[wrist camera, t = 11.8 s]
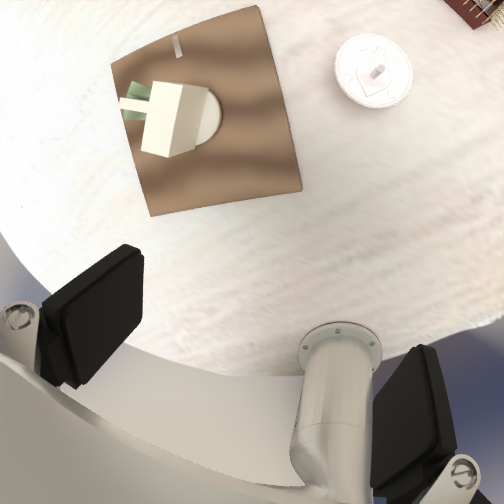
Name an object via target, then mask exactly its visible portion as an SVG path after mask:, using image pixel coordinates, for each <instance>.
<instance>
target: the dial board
mask: <svg viewBox="0 0 504 504" xmlns="http://www.w3.org/2000/svg"><path fill="white" fill-rule="evenodd" d="M111 69H112V74H113V78H114V83H115V88H116V92H117V97H118V101H120V98H121V97H125V98H132V99H139V100H145V101H149V100H150V95H151V90H152V85H153V81H161V82H173V83H183V84H189V85H195V86H201V87H205V88H209V89H208V90H210V91H211V92H212V93H213V94H214V95H215V96H216V98H217V99H218V101H219V103H220V106H221V112H222V117H221V123H220V126H219V128H218V130H217V132H216V133H215V135H214V136H213V137H212V138H211V139H209V140H208V141H206V142H205V143H202V144H199V145H196V146H195V149H193V150H190V151H187V152H184V153H181V154H178V155H175V156H172V157H169V158H167V157H163V156H160V155H156V154H152V153H148V152H145V151H141V146H142V139H143V133H144V127H145V121H146V115H147V113H143V112H137V111H132V110H126V109H121V114H122V118H123V122H124V126H125V130H126V134H127V137H128V141H129V145H130V149H131V152H132V156H133V160H134V163H135V167H136V170H137V174H138V177H139V181H140V184H141V187H142V191H143V194H144V197H145V200H146V204H147V207H148V210H149V213H150V216H151V217H154V216H159V215H164V214H169V213H174V212H179V211H185V210H190V209H195V208H201V207H207V206H212V205H218V204H224V203H230V202H236V201H242V200H248V199H254V198H261V197H267V196H274V195H281V194H288V193H295V192H301V191H302V185H301V179H300V174H299V169H298V164H297V159H296V155H295V150H294V145H293V140H292V136H291V131H290V127H289V122H288V118H287V113H286V109H285V105H284V100H283V96H282V92H281V88H280V84H279V80H278V76H277V72H276V68H275V64H274V60H273V56H272V53H271V49H270V45H269V41H268V38H267V34H266V31H265V27H264V24H263V20H262V17H261V13H260V10H259V7H258V6H257V5H254V6H250V7H247V8H243V9H240V10H236V11H233V12H230V13H227V14H224V15H220V16H217V17H214V18H212V19H209V20H206V21H203V22H200V23H198V24H195V25H192V26H190V27H187V28H185V29H182V30H180V31H177V32H175V33H173V34H170V35H168V36H166V37H163V38H161V39H159V40H157V41H155V42H152V43H150V44H148V45H146V46H144V47H142V48H140V49H138V50H136V51H134V52H132V53H130V54H128V55H126V56H124V57H123V58H121V59H119V60H117V61H115V62H113V63H112V64H111Z"/></svg>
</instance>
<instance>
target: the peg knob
mask: <svg viewBox="0 0 504 504" xmlns="http://www.w3.org/2000/svg"><path fill="white" fill-rule="evenodd" d="M208 89H209V88H205V87H201V86H195V85H189V84H183V83H173V82H161V81H153V85H152V90H151V95H150V100H149V101H145V100H139V99H132V98H125V97H121V98H120V101H119V107H118V108H120V109H126V110H132V111H137V112H143V113H147V115H146V121H145V127H144V133H143V139H142V146H141V151H145V152H148V153H152V154H156V155H160V156H163V157H167V158H169V157H172V156H175V155H178V154H181V153H184V152H187V151H190V150H193V149H195V146H196V145H199V144H202V143H205V142H206V141H208V140H209V139H211V138H212V137H213V136H214V135H215V133H216V132H217V130H218V128H219V126H220V123H221V117H222V112H221V106H220V103H219V101H218V99H217V98H216V96H215V95H214V94H213V93H212V92H211V91H210V90H208Z"/></svg>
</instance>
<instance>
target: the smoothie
mask: <svg viewBox="0 0 504 504" xmlns="http://www.w3.org/2000/svg"><path fill="white" fill-rule="evenodd" d="M334 72H335V77H336V80H337V82H338V85H339V87H340V88H341V89H342V91H343V92H344V93H345V95H347V96H348V97H349V98H350V99H351V100H352V101H354V102H356V103H358V104H360V105H361V106H364V107H368V108H372V109H384V108H388V107H392V106H394V105H396V104H398V103H400V102H401V101H402V100H403V99H404V98H405V97H406V96H407V95H408V93H409V92H410V90H411V87H412V84H413V77H414V75H413V67H412V64H411V61H410V59H409V57H408V55H407V54H406V52H405V51H404V50H403V49H402V48H401V47H400V46H399V45H398V44H397V43H396V42H394V41H393V40H391V39H389V38H387V37H385V36H382V35H379V34H373V33H364V34H359V35H356V36H353V37H351V38H349V39H348V40H347V41H345V42H344V43H343V44H342V46H341V47H340V48H339V50H338V52H337V54H336V56H335V61H334Z"/></svg>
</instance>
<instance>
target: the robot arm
mask: <svg viewBox="0 0 504 504" xmlns="http://www.w3.org/2000/svg"><path fill="white" fill-rule="evenodd" d="M143 274H144V256H143V255H142V254H141V251H140V249H138V248H135V247H133V246H130V245H128V244H123V245H121V246H120V247H118V248H117V249H115V250H114V251H113V252H111V253H110V254H108V255H107V256H105V257H104V258H102V259H101V260H100V261H98V262H97V263H95V264H94V265H92V266H91V267H90V268H88V269H87V270H85V271H84V272H83V273H81V274H80V275H78V276H77V277H76V278H74V279H73V280H72V281H70V282H69V283H67V284H66V285H65V286H63V287H62V288H61V289H59V290H58V291H57V292H55V293H54V294H53V295H51V296H50V297H49V298H47V299H46V300H45V301H44V302H42V307H41V308H40V309H39V310H38V308H37V307H36V306H35V305H34V304H33V303H30V302H27V301H17V302H13V303H10V304H9V305H7V306H5V307H4V308H3V309H2V310H1V312H0V504H373V497H386V498H387V500H386V504H491V502H490V501H488V500H487V498H486V497H485V496H484V495H483V494H482V493H481V492H480V491H479V490H478V489H477V488H478V486H479V483H480V476H481V474H480V470H479V467H478V465H477V463H476V462H475V461H474V460H473V459H472V458H471V457H469V456H467V455H464V454H460V455H456V456H455V452H454V451H455V450H456V449H457V443H456V437H455V431H454V426H453V420H452V415H451V410H450V405H449V401H448V396H447V392H446V388H445V383H444V379H443V375H442V371H441V368H440V364H439V361H438V357H437V353H436V350H435V348H432V347H429V346H426V345H422V344H419V345H417V346H416V347H412V348H411V349H410V351H409V352H408V354H407V355H406V357H405V358H404V359H403V361H402V362H401V364H400V365H399V366H398V368H397V369H396V371H395V372H394V373H393V375H392V376H391V377H390V379H389V380H388V381H387V382H386V384H385V385H384V386H383V388H382V389H381V390H380V391H379V393H378V394H377V395H376V397H375V399H374V401H373V378H372V377H373V376H372V374H373V373H374V372H375V371H376V370H377V368H378V367H379V365H380V363H381V359H382V349H381V344H380V342H379V340H378V338H377V337H376V336H375V335H374V334H373V333H372V332H371V331H369V330H368V329H366V328H364V327H362V326H359V325H356V324H352V323H332V324H327V325H324V326H321V327H318V328H316V329H315V330H313V331H311V332H310V333H309V334H308V335H306V337H305V338H304V339H303V340H302V342H301V344H300V347H299V351H298V361H299V365H300V367H301V369H302V370H303V371H304V372H305V376H304V382H303V387H302V392H301V397H300V402H299V407H298V412H297V417H296V421H295V426H294V430H293V435H292V439H291V444H290V451H289V452H290V460H291V463H292V466H293V468H294V469H295V471H296V473H297V474H298V475H299V477H300V478H301V479H302V481H303V482H304V483H305V486H301V487H297V486H290V487H286V486H275V485H267V484H259V483H251V482H247V481H244V480H241V479H238V478H235V477H232V476H229V475H226V474H223V473H220V472H217V471H214V470H212V469H209V468H206V467H204V466H201V465H198V464H196V463H193V462H191V461H188V460H186V459H184V458H181V457H179V456H177V455H174V454H172V453H170V452H168V451H166V450H163V449H161V448H159V447H157V446H155V445H153V444H151V443H149V442H147V441H145V440H142V439H141V438H139V437H137V436H135V435H133V434H131V433H129V432H127V431H125V430H123V429H121V428H120V427H118V426H116V425H114V424H113V423H111V422H109V421H107V420H106V419H104V418H102V417H101V416H99V415H97V414H96V413H94V412H92V411H91V410H89V409H87V408H86V407H84V406H83V405H81V404H80V403H78V402H76V401H75V400H73V399H72V398H70V397H69V396H67V395H66V394H64V393H63V392H61V391H60V386H61V385H62V384H63V382H65V383H67V384H68V385H70V386H71V387H72V388H74V389H77V388H78V387H79V386H80V385H81V384H82V385H84V384H86V383H87V382H88V381H89V380H90V379H91V378H92V377H93V376H94V374H95V373H96V372H97V371H98V370H99V369H100V368H101V366H102V365H103V364H104V363H105V362H106V361H107V360H108V358H109V357H110V356H111V355H112V354H113V353H114V352H115V351H116V349H117V348H118V347H119V346H120V345H121V344H122V343H123V342H124V340H125V339H126V338H127V337H128V336H129V335H130V334H131V333H132V332H133V330H134V329H135V328H136V327H137V326H138V325H139V324H140V322H141V319H142V312H143ZM372 488H373V493H372Z"/></svg>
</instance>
